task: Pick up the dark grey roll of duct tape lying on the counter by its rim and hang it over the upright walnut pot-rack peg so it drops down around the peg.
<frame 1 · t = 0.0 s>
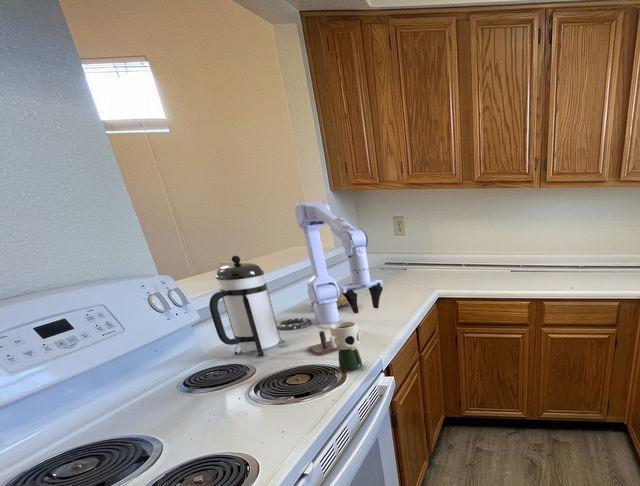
hand: (366, 310, 139), 10 cm above the countertop, tool pointing down, fingers open, 7 cm apart
coffee press: (259, 351, 135), on the countertop
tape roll: (294, 325, 156), point 1 cm above the countertop
peg: (325, 349, 135), on the countertop
sponge: (332, 310, 182), on the countertop
character mug: (351, 369, 120), on the countertop
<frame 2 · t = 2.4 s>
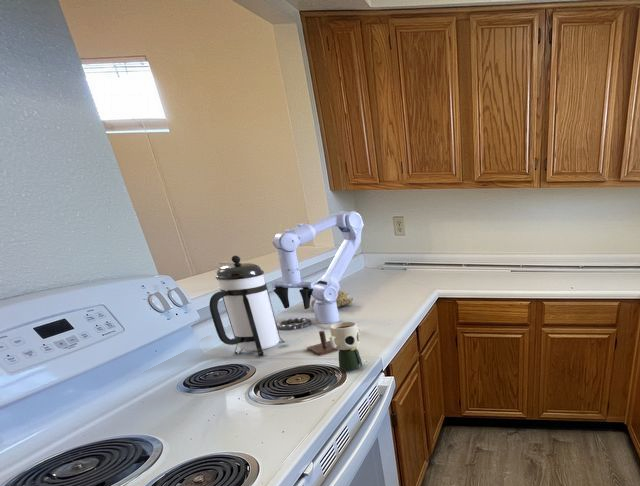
hand: (297, 308, 149), 9 cm above the countertop, tool pointing down, fingers open, 7 cm apart
nothing on the countertop moved.
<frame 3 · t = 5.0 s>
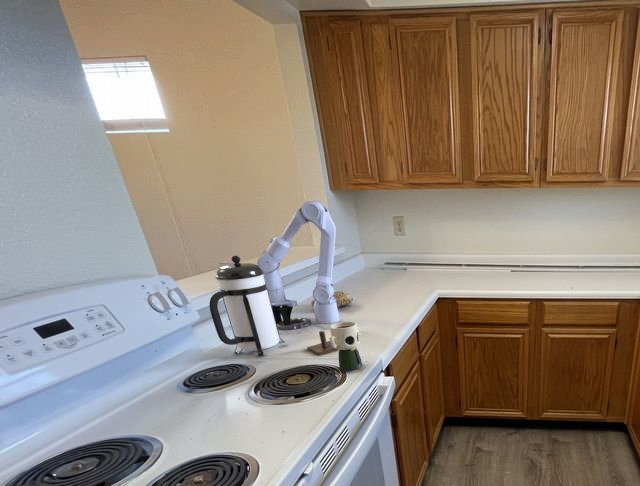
hand: (283, 324, 157), 1 cm above the countertop, tool pointing down, fingers closed on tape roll, 3 cm apart
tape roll: (294, 325, 156), point 1 cm above the countertop, touching gripper
everything else where it was.
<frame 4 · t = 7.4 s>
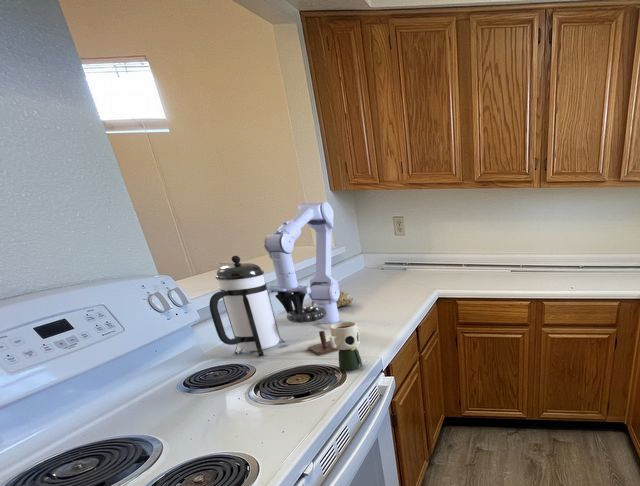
hand: (295, 314, 140), 9 cm above the countertop, tool pointing down, fingers closed on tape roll, 3 cm apart
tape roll: (307, 314, 139), point 9 cm above the countertop, touching gripper
everything else where it was.
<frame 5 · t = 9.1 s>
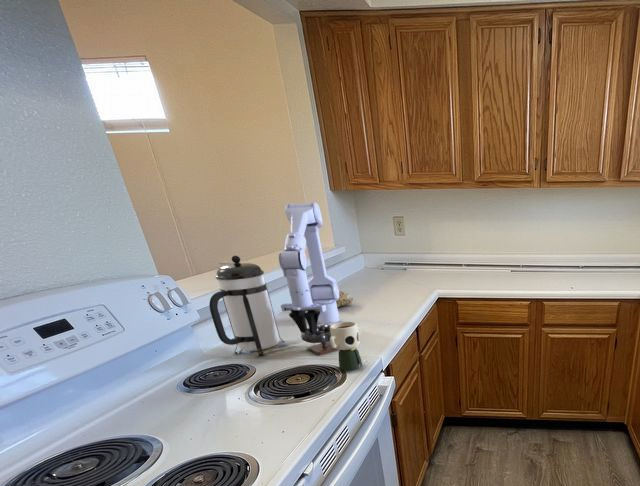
hand: (309, 332, 134), 5 cm above the countertop, tool pointing down, fingers closed on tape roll, 3 cm apart
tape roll: (321, 333, 133), point 5 cm above the countertop, touching gripper
everything else where it was.
when the fingers open (2 cm above the countertop, at t = 10.3 s): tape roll stays where it is, resting on peg.
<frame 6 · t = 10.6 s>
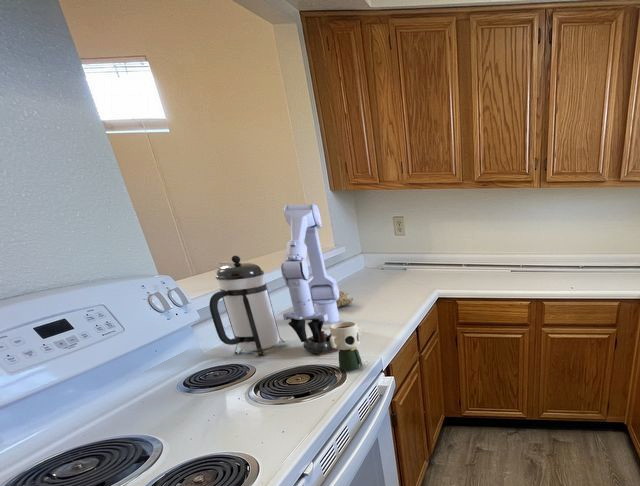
hand: (311, 341, 135), 2 cm above the countertop, tool pointing down, fingers open, 4 cm apart
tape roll: (323, 342, 134), point 2 cm above the countertop, touching peg
everything else where it was.
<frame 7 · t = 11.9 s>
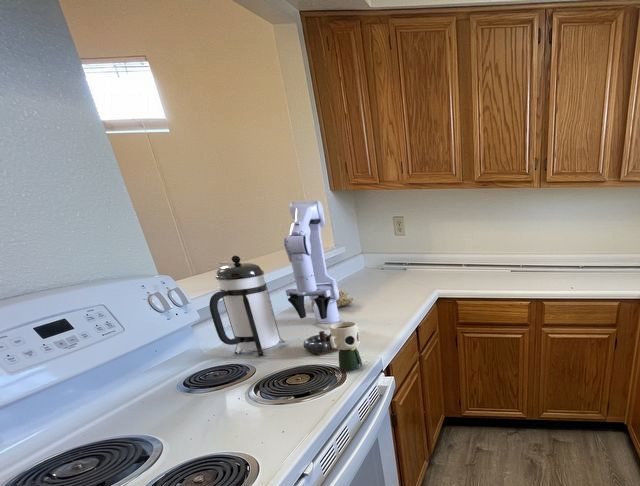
hand: (313, 318, 135), 9 cm above the countertop, tool pointing down, fingers open, 7 cm apart
nothing on the countertop moved.
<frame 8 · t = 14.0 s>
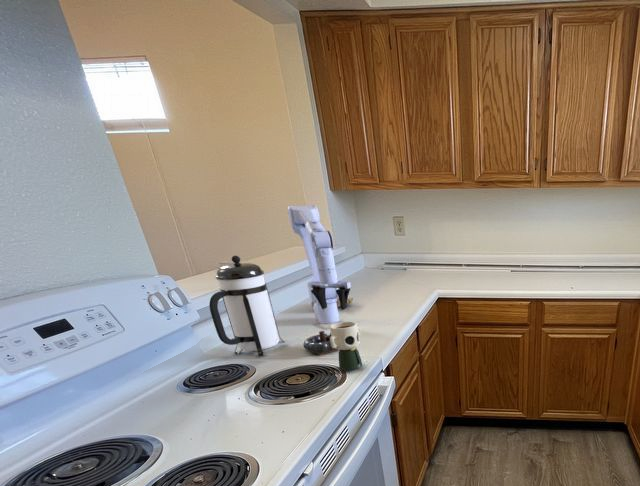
hand: (334, 308, 145), 9 cm above the countertop, tool pointing down, fingers open, 7 cm apart
nothing on the countertop moved.
at the end: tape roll 0.0 cm from the peg (horizontally); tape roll point 2.4 cm above the countertop; the gripper is holding nothing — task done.
